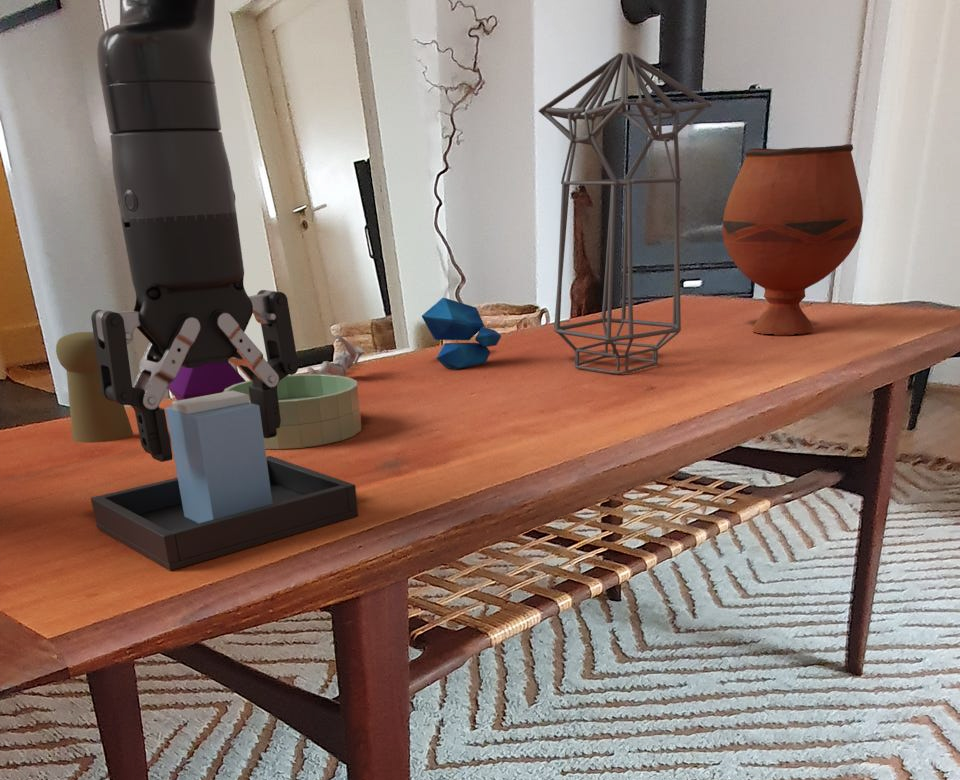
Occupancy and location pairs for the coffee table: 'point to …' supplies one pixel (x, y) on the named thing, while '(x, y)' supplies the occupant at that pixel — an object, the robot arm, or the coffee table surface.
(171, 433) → the carton
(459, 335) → the crystal
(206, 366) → the perfume bottle
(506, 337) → the coffee table surface
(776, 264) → the goblet
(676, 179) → the geometric lantern
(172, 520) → the tray
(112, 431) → the cork
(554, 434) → the coffee table surface
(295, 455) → the coffee table surface
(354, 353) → the seated figurine
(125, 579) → the coffee table surface
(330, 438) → the bowl
